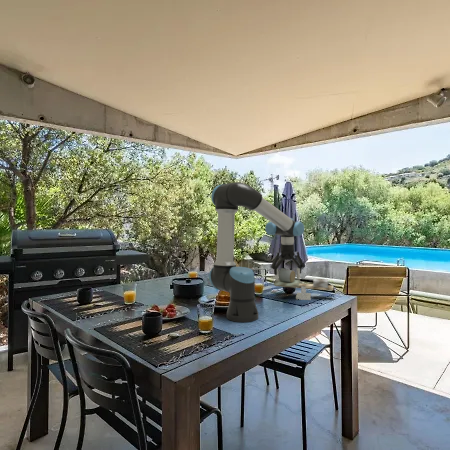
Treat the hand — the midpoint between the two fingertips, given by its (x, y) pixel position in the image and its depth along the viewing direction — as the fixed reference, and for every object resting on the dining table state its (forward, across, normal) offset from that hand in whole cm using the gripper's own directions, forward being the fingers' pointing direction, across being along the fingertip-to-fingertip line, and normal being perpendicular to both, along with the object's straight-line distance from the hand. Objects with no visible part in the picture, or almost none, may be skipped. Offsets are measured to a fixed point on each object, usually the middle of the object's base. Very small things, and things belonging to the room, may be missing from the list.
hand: (287, 279), depth 197 cm
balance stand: (+10, -8, +4) cm, 14 cm away
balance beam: (+4, -8, +4) cm, 10 cm away
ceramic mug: (+1, 0, -1) cm, 2 cm away
